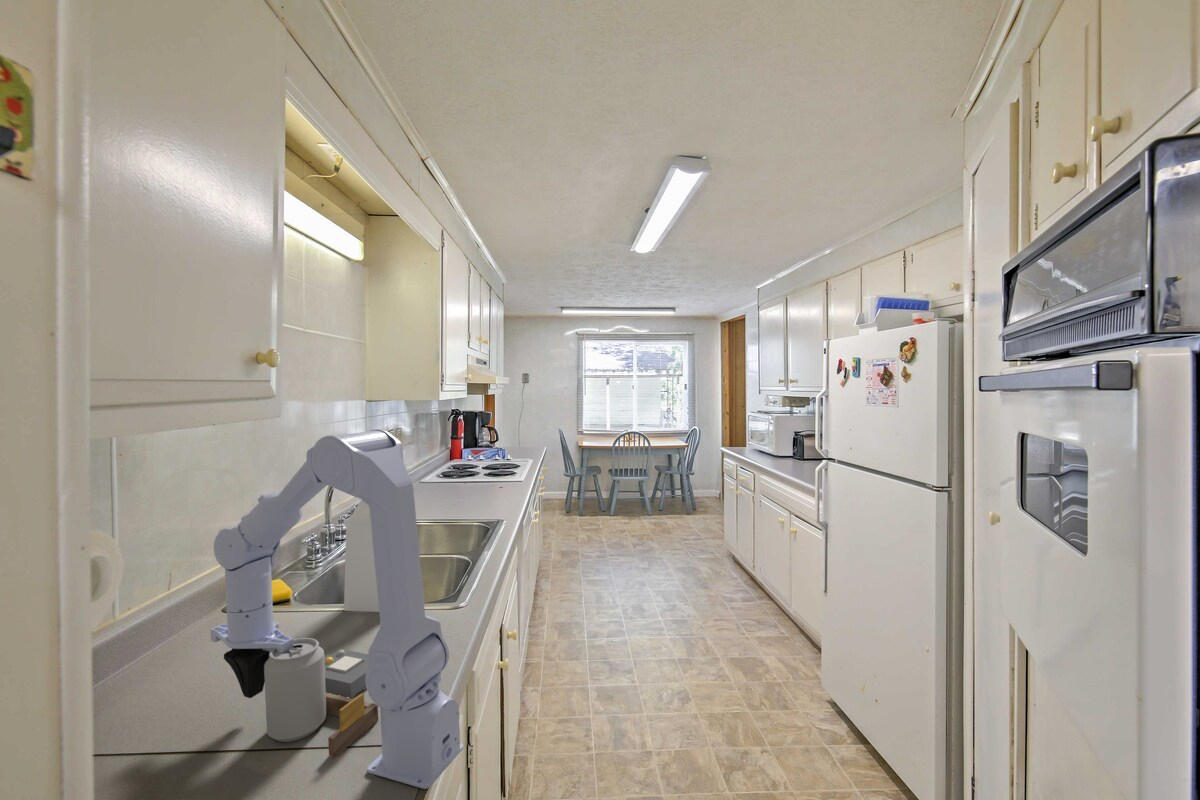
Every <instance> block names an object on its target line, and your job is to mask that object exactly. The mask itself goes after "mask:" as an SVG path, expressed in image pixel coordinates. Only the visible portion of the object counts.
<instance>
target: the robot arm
mask: <svg viewBox="0 0 1200 800" xmlns="http://www.w3.org/2000/svg"><path fill="white" fill-rule="evenodd" d="M403 449H404V448H403V443H402V441H400V440H399V439H398V438H397V437H395V436H394V435H392V433H390V432H389V431H387V430H385V429H383V428H377V429H372V430H368V431H363V432H356V433H355V432H353V433H348V434H340V435H325V436H323V437H320V438H319V439H318V440H317V441H316V442H315V444H314V445H313V446H312V447H310V448H309V449H308V450H307V451H306V461H305V462H304V463H303V464H302V466H301V467H300V468H299V469H298V471H296V473H295V474H294V475H293V476H292V477H291V478H290V480H289V481H288V482H287V484H286V485H285V486H284V487H283V488H282V490H281V491H274V492H269V493H266V494H261V496H260V495H259V496H260V497H258V499H257V502H258V503H257V504H256V505H255V506H254V508H252V509H251V510H250V511H249V512H248V513H247V514H245V515H243V516H242V517H241V521H240V522H238V524H237V525H236V526H234V527H227V528H223V529H220V530H219V531H218V534H217V535H216V537H214V542H213V554H214V557H215V559H216V561H217V562H218V564H219V565H220V567H222V568H223V569H224V583H225V604H226V606H225V607H226V623H222V624H219V625H217V626H215V627H211V629H210V641H211V642H212V643H218V642H220V641H221V642H222V643H223V644H225V646H227V647H228V648H230V649H231V650H228V651H227V652H225V653H224V654H223V660H225V662H226V663H227V664H228V665H229V666H230V667H231V669H232V671H233V673H234V674H235V676H236V679H237V681H238V684H239V687H240V690H241V692H242V695H243V697H245V698H248V699H252V698H254V697H256V696H257V695H258V694H260V693H262V692H263V690H264V688H265V676H264V665H265V662H266V661H267V660H268V659H269V658H270V657H269V653H270V651H271V650H272V649H273V648H274V649H276V650H277V652H278V653H281V654H286V653H290V652H289V650H290V649H293V648H294V644H293V640H294V638H293V637H290V636H287V635H286V634H285V633H283V632H282V631H281V630H279V629H278V628H280V623H279V622H278V621H274V607H273V606H274V604H273V603H274V602H273V581H272V580H273V578H272V569H273V568H274V567H275V565H276V555H277V553H278V551H279V550H280V547H281V540H282V539H283V537H284V536H286V534H288V533H289V532H290V531H291V530H292V529H293V528H294V527H295V526H296V525H297V524H298V523H299V522H300V520H301V519H302V518H303V507H304V506H305V505H306V504H308V503H309V502H310V501H311V500H312V499H313V498H314V497H315V496H317V495H318V494H319V493H320V492H321V491H322V490H324V489H325V488H326V487H327V486H329V487H330V488H331V487H332V488H333V489H336V490H338V491H341V492H342V493H345V494H348V495H350V496H352V497H353V498H354V497H355V498H358V499H360V501H361V500H362V501H364V502H365V503H366V504H368V506H369V508H370V519H371V529H372V540H373V551H374V561H375V572H376V582H377V593H378V603H379V612H378V613H379V622H380V623H379V624H380V627H379V629H378V631H377V633H376V635H375V637H374V639H373V640H372V642H371V645H370V647H369V649H368V652H367V654H369V665H368V668H367V671H366V675H365V684H366V688H365V690H366V691H367V693H368V696H369V697H370V699H371V700H372V701H373V703H374V704H376V706H378V708H380V732H381V733H380V734H381V735H380V736H381V740H380V741H381V753H380V754H379V755H378V757H376V758H375V759H374V760H373V761H371V763H370V764H369V765H368V766H367V767H366V772H367V773H369V774H372V775H376V776H379V777H382V778H386V779H389V780H393V781H395V782H400V783H402V784H406V785H408V786H409V785H410V786H413V787H416V788H420V789H423V790H427V789H430V787H431V786H432V785H433V784H434V783H435V781H436V780H438V778H439V777H440V776H441V775H442V774H443V773H444V771H445V770H446V769H447V768H448V767H449V766H450V764H451V763H452V762H453V761H454V760H455V759H456V758H457V756H459V754H460V753H461V752H462V751H463V750H464V744H463V743H461V739H460V735H461V734H460V709H459V705H458V702H457V701H456V700H455V699H453V698H452V697H449V696H448V695H446V694H445V693H444V692H443V691H442V690H441V689H440V687H439V683H440V682H441V681H442V679H441V678H442V675H441V673H442V671H444V670H445V668H446V667H447V665H448V663H449V659H450V650H449V647H448V643H447V641H446V639H445V637H444V636H443V632H442V628H441V627H442V626H441V621H439V620H438V619H436V618H434V617H432V616H429V615H427V614H426V609H425V600H424V588H423V579H422V578H423V577H422V566H421V555H420V547H419V545H420V544H419V534H418V524H417V514H416V513H417V512H416V504H415V502H416V501H415V494H414V493H415V491H414V484H413V481H412V479H411V476H410V474H409V472H408V469H407V467H406V465H405V463H404V451H403Z"/></svg>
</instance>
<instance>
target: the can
mask: <svg viewBox="0 0 1200 800" xmlns="http://www.w3.org/2000/svg"><path fill="white" fill-rule="evenodd" d="M293 644H294V648H293V649H290V650H289V652H290V653H286V654H281V653H278V652H277V650H276V649H274V648H273V649H272V650H271V651H270V653H269V657H270V658H269V659H268V660H267V661H266V662H265V665H264V676H265V683H264V695H265V696H264V697H265V698H264V699H265V715H266V716H265V717H266V718H265V719H266V733H267V736H269V737H270V738H271V739H273V740H275V741H276V740H277V741H278V742H283V743H286V742H287V743H288V742H289V743H290V742H295V741H299V740H301V739H304V738H306V737H308V736H310V735H312V734H313V733H314V732H315V731H316V730H318V728H319V727H320V726H321V725H322V724H323V723H324V721H325V720H326V718H327V713H326V691H325V664H324V659H325V651H324V649H323V648H322V647H321V646H319V645H320V642H319V641H318V640H317V639H315V638H313V637H312V638H311V637H301V638H293Z"/></svg>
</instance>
